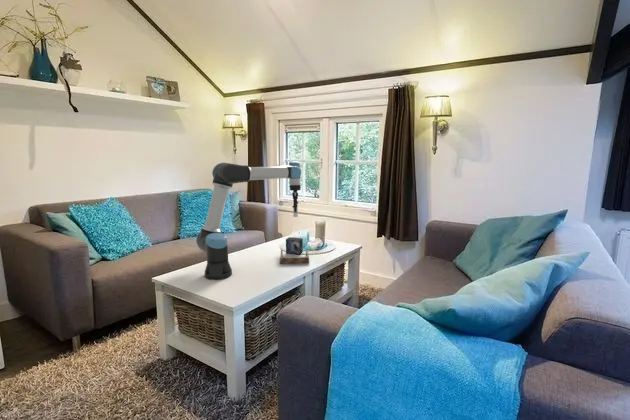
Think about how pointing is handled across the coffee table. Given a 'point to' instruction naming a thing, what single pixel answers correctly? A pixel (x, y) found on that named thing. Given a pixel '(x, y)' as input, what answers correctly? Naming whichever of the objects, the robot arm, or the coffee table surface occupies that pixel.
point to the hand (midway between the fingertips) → (295, 214)
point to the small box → (294, 246)
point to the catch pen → (294, 259)
